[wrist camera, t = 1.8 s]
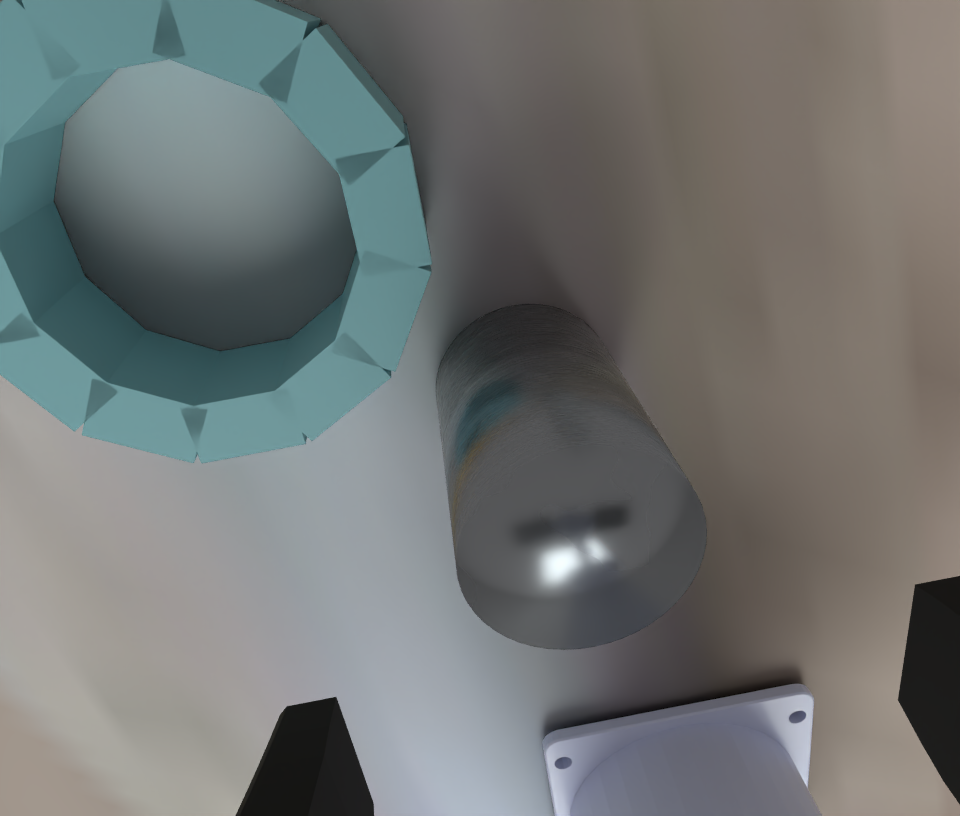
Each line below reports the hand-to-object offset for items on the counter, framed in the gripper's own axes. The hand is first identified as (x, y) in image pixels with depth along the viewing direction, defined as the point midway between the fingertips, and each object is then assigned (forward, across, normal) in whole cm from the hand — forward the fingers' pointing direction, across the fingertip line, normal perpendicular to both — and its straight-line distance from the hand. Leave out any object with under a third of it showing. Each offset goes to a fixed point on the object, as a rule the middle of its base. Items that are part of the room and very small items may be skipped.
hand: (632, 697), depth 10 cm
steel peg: (+9, 0, 0) cm, 9 cm away
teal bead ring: (+9, +6, -5) cm, 11 cm away
